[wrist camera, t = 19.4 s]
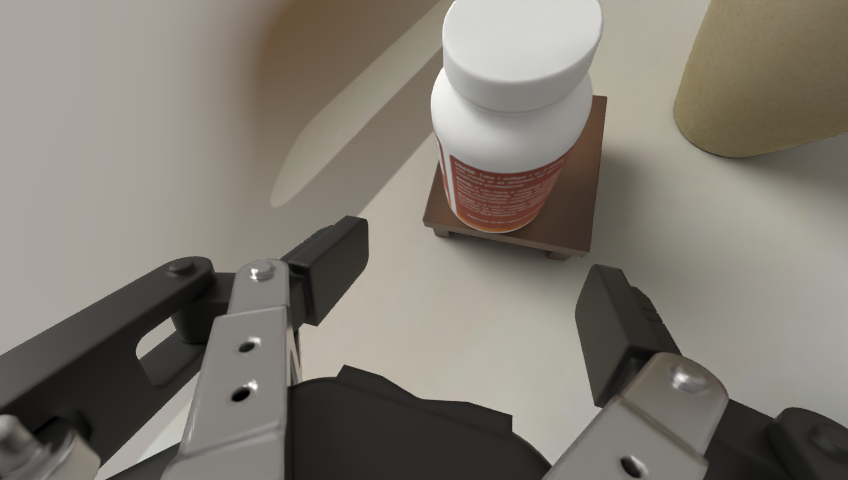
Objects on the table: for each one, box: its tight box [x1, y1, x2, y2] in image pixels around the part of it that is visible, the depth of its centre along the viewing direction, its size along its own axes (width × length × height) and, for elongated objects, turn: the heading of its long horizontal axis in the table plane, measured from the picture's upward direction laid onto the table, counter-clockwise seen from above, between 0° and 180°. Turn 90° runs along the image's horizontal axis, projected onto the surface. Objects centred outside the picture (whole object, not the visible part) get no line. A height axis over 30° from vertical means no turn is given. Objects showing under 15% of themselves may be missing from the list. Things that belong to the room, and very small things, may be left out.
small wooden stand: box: [423, 95, 607, 261], centre depth 22 cm, size 10×11×4 cm
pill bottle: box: [431, 0, 604, 233], centre depth 14 cm, size 6×6×11 cm
